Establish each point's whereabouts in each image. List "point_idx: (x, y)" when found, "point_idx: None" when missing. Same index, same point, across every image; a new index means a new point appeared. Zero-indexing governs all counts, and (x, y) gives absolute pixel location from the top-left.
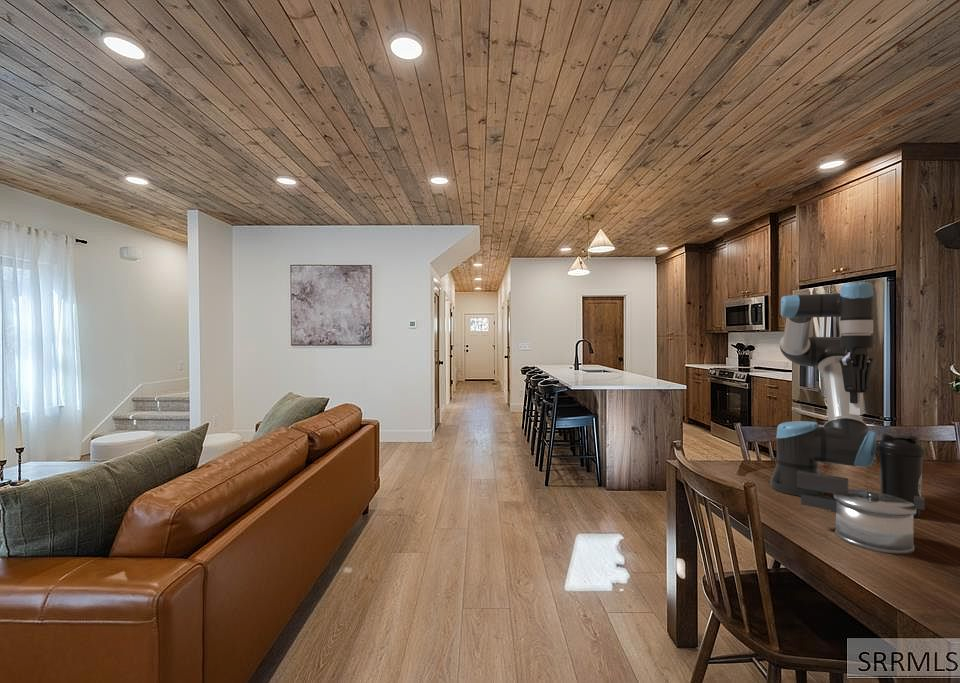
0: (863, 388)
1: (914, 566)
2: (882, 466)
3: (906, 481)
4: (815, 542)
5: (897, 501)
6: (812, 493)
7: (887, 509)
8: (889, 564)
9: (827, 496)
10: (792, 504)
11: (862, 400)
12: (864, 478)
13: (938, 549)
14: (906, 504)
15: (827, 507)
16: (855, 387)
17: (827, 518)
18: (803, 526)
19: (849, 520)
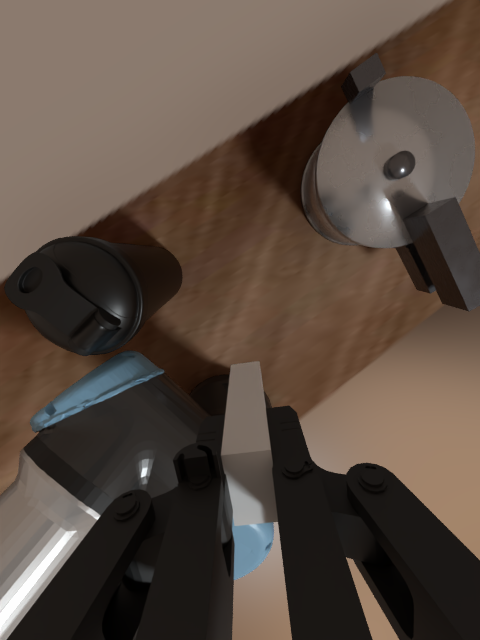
0: (194, 498)
1: None
2: (155, 308)
3: (150, 254)
4: (463, 210)
5: (356, 138)
6: (423, 277)
7: (449, 99)
8: None
9: (413, 252)
10: (315, 358)
11: (232, 410)
12: (21, 431)
13: (285, 124)
14: (361, 114)
15: None
16: (366, 495)
17: (324, 288)
18: (407, 271)
19: None
